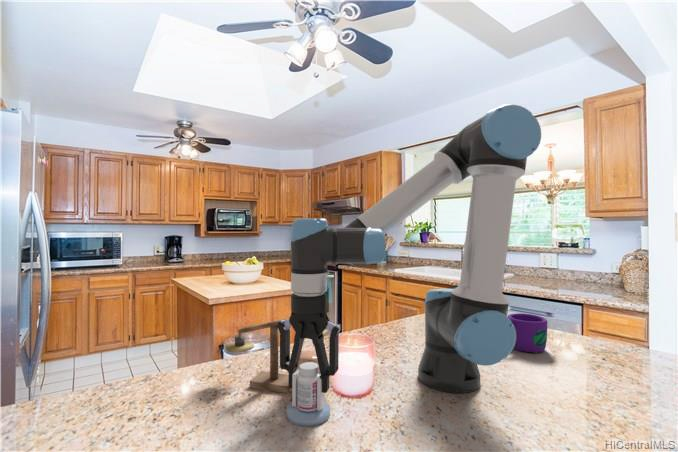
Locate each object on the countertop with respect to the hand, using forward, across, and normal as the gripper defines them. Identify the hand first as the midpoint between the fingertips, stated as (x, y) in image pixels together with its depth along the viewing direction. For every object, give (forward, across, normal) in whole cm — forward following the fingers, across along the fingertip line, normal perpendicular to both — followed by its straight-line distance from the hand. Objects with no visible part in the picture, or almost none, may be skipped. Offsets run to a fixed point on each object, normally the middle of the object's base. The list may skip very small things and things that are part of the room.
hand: (308, 404), depth 73 cm
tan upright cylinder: (+2, +4, -10) cm, 11 cm away
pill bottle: (+1, 0, 0) cm, 1 cm away
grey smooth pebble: (+2, 0, 0) cm, 2 cm away
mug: (+2, -50, -56) cm, 75 cm away
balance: (+2, +13, -10) cm, 17 cm away
